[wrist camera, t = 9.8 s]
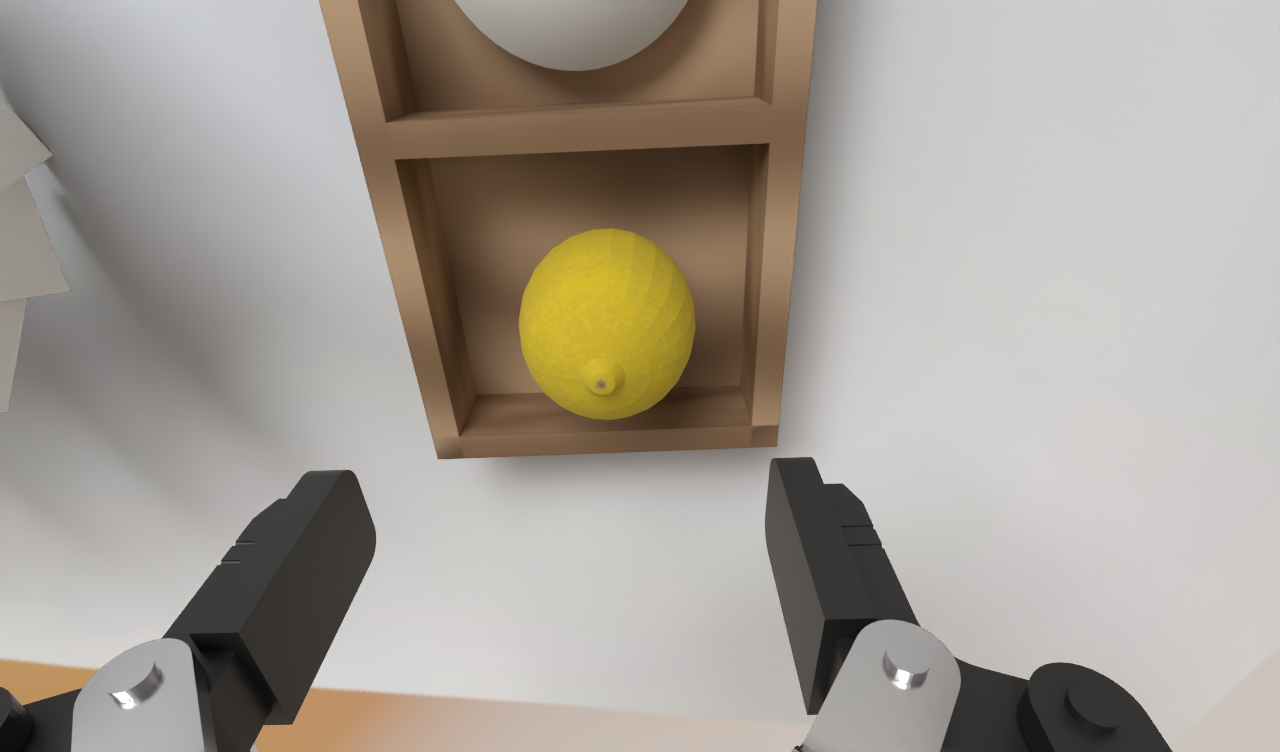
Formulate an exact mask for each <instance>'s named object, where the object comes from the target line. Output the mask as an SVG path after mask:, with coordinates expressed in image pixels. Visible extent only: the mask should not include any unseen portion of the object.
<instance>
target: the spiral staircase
mask: <svg viewBox="0 0 1280 752" xmlns="http://www.w3.org/2000/svg"><path fill="white" fill-rule="evenodd" d="M51 156H52V153H51V152H50V151H49V150H48V149H47V148H46V147H45V146H44V145H43V143H42V142H41V141H40V140H39V139H38V138H37V137H36V136H35V135H34V134H33V132H32V131H31V130H30V129H29V128H28V127H27V126H26V125H25V124H24V123H23V121H22V120H21V119H20V118H19V117H18V116H17V115H16V114H15V113H14V112H13V111H12V109H11V108H10V107H9V106H8V105H7V104H6V103H5V102H4V101H3V100H2V98H1V97H0V413H3V412H8V409H9V403H10V397H11V391H12V386H13V380H14V374H15V368H16V362H17V357H18V351H19V345H20V339H21V333H22V328H23V322H24V316H25V310H26V305H27V299H28V298H30V297H37V296H43V295H50V294H57V293H63V292H69V291H70V288H69V286H68V283H67V281H66V278H65V276H64V274H63V271H62V269H61V266H60V264H59V261H58V259H57V256H56V254H55V251H54V249H53V246H52V244H51V242H50V239H49V237H48V234H47V232H46V229H45V227H44V224H43V222H42V219H41V217H40V214H39V212H38V210H37V207H36V205H35V202H34V200H33V197H32V195H31V192H30V190H29V187H28V185H27V182H26V180H25V178H24V175H25V174H26V173H28V172H29V171H31V170H32V169H34V168H35V167H36V166H38V165H39V164H41V163H42V162H44V161H45V160H47V159H48V158H50V157H51Z"/></svg>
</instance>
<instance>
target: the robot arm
mask: <svg viewBox="0 0 1280 752" xmlns="http://www.w3.org/2000/svg"><path fill="white" fill-rule="evenodd" d="M765 534H766V543H767V549H768V554H769V558H770V562H771V566H772V570H773V574H774V579H775V583H776V587H777V591H778V595H779V599H780V604H781V608H782V612H783V616H784V620H785V624H786V628H787V633H788V637H789V641H790V645H791V649H792V653H793V657H794V662H795V666H796V670H797V674H798V678H799V682H800V686H801V691H802V695H803V699H804V703H805V707H806V711H807V715H817V717H816V719H815V721H814V723H813V725H812V727H811V729H810V731H809V733H808V735H807V737H806V739H805V740H804V742H803V744H802V745H801V746H800V747H799V746H796V747H795V748H794V749H793V750H792V752H1172V750H1171V749H1170V747H1169V746H1168V744H1167V743H1166V741H1165V740H1164V738H1163V737H1162V735H1161V734H1160V732H1159V731H1158V729H1157V728H1156V726H1155V725H1154V723H1153V722H1152V720H1151V719H1150V717H1149V716H1148V714H1147V713H1146V712H1145V710H1144V709H1143V708H1142V706H1141V705H1140V704H1139V703H1138V702H1137V701H1136V700H1135V699H1134V697H1133V696H1132V695H1130V694H1129V693H1128V692H1127V691H1126V690H1125V689H1124V688H1122V687H1121V686H1120V685H1118V684H1117V683H1115V682H1114V681H1113V680H1111V679H1109V678H1107V677H1106V676H1104V675H1102V674H1100V673H1098V672H1096V671H1094V670H1092V669H1089V668H1086V667H1083V666H1080V665H1076V664H1071V663H1062V662H1060V663H1050V664H1046V665H1043V666H1041V667H1039V668H1038V669H1037V670H1036V671H1035V672H1034V673H1033V674H1032V676H1031V678H1030V680H1025V679H1022V678H1018V677H1014V676H1010V675H1006V674H1003V673H999V672H995V671H991V670H988V669H984V668H980V667H977V666H974V665H971V664H968V663H966V662H964V661H961V660H959V659H957V658H956V657H954V656H953V655H952V653H951V652H950V650H949V649H948V648H947V647H946V646H945V645H944V644H943V643H942V642H941V641H940V640H939V639H938V638H937V637H935V636H934V635H933V634H931V633H930V632H928V631H927V630H925V629H923V628H921V626H920V625H919V623H918V621H917V619H916V617H915V615H914V613H913V611H912V609H911V607H910V604H909V602H908V600H907V598H906V596H905V593H904V591H903V589H902V587H901V585H900V583H899V580H898V578H897V576H896V574H895V572H894V570H893V567H892V565H891V563H890V561H889V559H888V556H887V554H886V552H885V550H884V548H883V549H882V543H881V541H880V539H879V537H878V535H877V533H876V530H874V529H873V524H872V522H871V519H870V517H869V515H868V513H867V511H866V509H865V506H864V504H863V502H862V501H861V500H859V499H858V498H857V497H856V496H855V495H854V494H853V493H852V492H851V491H850V490H849V489H848V488H847V487H846V486H845V485H844V484H824V483H823V481H822V478H821V476H820V473H819V471H818V468H817V465H816V463H815V461H814V459H813V458H812V457H799V458H773V459H772V460H771V464H770V471H769V482H768V493H767V503H766V514H765ZM375 547H376V531H375V527H374V524H373V521H372V518H371V515H370V513H369V510H368V507H367V504H366V502H365V499H364V496H363V493H362V490H361V488H360V485H359V482H358V479H357V477H356V475H355V474H354V473H353V472H352V471H351V470H330V471H309V472H307V473H305V474H304V475H303V476H302V478H301V479H300V480H299V482H298V483H297V484H296V486H295V487H294V489H293V490H292V491H291V493H290V494H289V495H288V497H287V498H286V499H278V500H277V501H275V502H274V503H273V504H272V505H270V506H269V507H268V508H266V509H265V510H264V511H263V512H261V513H260V514H259V515H257V516H256V517H255V518H253V519H252V521H251V522H250V523H249V525H248V526H247V527H246V529H245V530H244V531H243V533H242V534H241V535H240V536H239V538H238V539H237V540H236V545H235V546H232V547H231V548H230V550H229V551H228V552H227V554H226V555H225V556H224V557H223V559H222V560H221V561H222V563H221V565H217V567H216V568H215V569H214V571H213V572H212V573H211V575H210V576H209V577H208V578H207V580H206V581H205V582H204V584H203V585H202V586H201V588H200V589H199V590H198V592H197V593H196V594H195V595H194V597H193V598H192V599H191V601H190V602H189V603H188V605H187V606H186V607H185V609H184V610H183V611H182V613H181V614H180V615H179V616H178V618H177V619H176V620H175V622H174V623H173V624H172V626H171V627H170V628H169V630H168V631H167V632H166V634H165V635H164V636H163V637H162V638H161V639H157V640H152V641H149V642H146V643H143V644H140V645H138V646H135V647H133V648H131V649H129V650H127V651H125V652H123V653H122V654H120V655H119V656H117V657H115V658H114V659H112V660H111V661H110V662H108V663H107V664H106V665H104V666H103V667H102V668H101V669H100V670H99V671H97V672H96V673H95V674H94V675H93V676H92V678H91V679H90V680H89V681H88V682H87V683H86V685H85V686H84V687H83V688H81V689H77V690H74V691H71V692H67V693H64V694H60V695H57V696H54V697H50V698H47V699H43V700H40V701H36V702H33V703H30V704H26V705H23V706H22V705H21V704H20V703H19V702H18V701H17V700H16V699H15V697H14V696H13V695H12V694H11V693H10V692H9V691H8V690H6V689H4V688H2V687H0V752H258V750H257V748H256V747H255V745H254V742H255V740H256V738H257V736H258V734H259V732H260V730H261V728H262V727H263V725H285V724H286V725H287V724H288V725H289V724H293V722H294V720H295V718H296V715H297V713H298V711H299V709H300V707H301V705H302V703H303V701H304V699H305V697H306V695H307V693H308V691H309V689H310V687H311V685H312V683H313V681H314V679H315V677H316V674H317V672H318V670H319V668H320V666H321V664H322V662H323V660H324V658H325V656H326V654H327V652H328V650H329V648H330V646H331V644H332V642H333V640H334V637H335V635H336V633H337V631H338V629H339V627H340V625H341V623H342V621H343V619H344V617H345V615H346V613H347V611H348V609H349V607H350V605H351V603H352V601H353V598H354V596H355V594H356V592H357V590H358V588H359V586H360V584H361V582H362V580H363V578H364V576H365V574H366V572H367V570H368V568H369V566H370V564H371V561H372V559H373V556H374V552H375Z"/></svg>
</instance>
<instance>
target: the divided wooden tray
mask: <svg viewBox="0 0 1280 752" xmlns="http://www.w3.org/2000/svg"><path fill="white" fill-rule="evenodd" d="M319 3H320V7H321V10H322V14H323V18H324V22H325V26H326V30H327V33H328V37H329V41H330V45H331V49H332V53H333V57H334V60H335V64H336V68H337V72H338V76H339V80H340V84H341V87H342V91H343V95H344V99H345V103H346V107H347V111H348V114H349V118H350V122H351V126H352V130H353V134H354V138H355V141H356V145H357V149H358V153H359V157H360V161H361V164H362V168H363V172H364V176H365V180H366V184H367V188H368V191H369V195H370V199H371V203H372V207H373V211H374V215H375V218H376V222H377V226H378V230H379V234H380V238H381V242H382V245H383V249H384V253H385V257H386V261H387V265H388V269H389V272H390V276H391V280H392V284H393V288H394V292H395V296H396V299H397V303H398V307H399V311H400V315H401V319H402V322H403V326H404V330H405V334H406V338H407V342H408V346H409V349H410V353H411V357H412V361H413V365H414V369H415V373H416V376H417V380H418V384H419V388H420V392H421V396H422V400H423V403H424V407H425V411H426V415H427V419H428V423H429V427H430V430H431V434H432V438H433V442H434V446H435V450H436V453H437V457H438V459H459V458H485V457H512V456H538V455H565V454H592V453H618V452H645V451H671V450H698V449H724V448H751V447H777V438H778V427H779V416H780V405H781V394H782V383H783V372H784V361H785V350H786V339H787V328H788V317H789V306H790V295H791V284H792V273H793V262H794V251H795V240H796V228H797V217H798V206H799V195H800V184H801V173H802V162H803V151H804V140H805V129H806V118H807V107H808V96H809V85H810V74H811V63H812V52H813V41H814V30H815V19H816V8H817V0H688V1H687V3H686V5H685V6H684V8H683V9H682V10H681V12H680V13H679V15H678V16H677V17H676V19H675V20H674V22H673V23H672V24H671V25H670V26H669V27H668V28H667V29H666V30H665V31H664V32H663V33H662V34H661V36H659V37H658V38H657V39H656V40H655V41H653V42H652V43H651V44H650V45H649V46H647V47H646V48H645V49H643V50H641V51H640V52H638V53H636V54H635V55H633V56H632V57H630V58H628V59H625V60H623V61H621V62H618V63H616V64H614V65H610V66H606V67H603V68H599V69H593V70H584V71H563V70H557V69H551V68H546V67H542V66H539V65H536V64H533V63H530V62H527V61H525V60H523V59H521V58H519V57H517V56H515V55H513V54H511V53H509V52H508V51H506V50H505V49H503V48H502V47H500V46H499V45H497V44H496V43H494V42H493V41H492V40H491V39H490V38H488V37H487V36H486V35H485V34H484V33H482V32H481V31H480V30H479V29H478V28H477V27H476V26H475V25H474V24H473V22H472V21H471V20H470V19H469V18H468V17H467V16H466V15H465V14H464V12H463V11H462V10H461V8H460V7H459V6H458V4H457V3H456V2H455V0H319ZM610 228H614V229H619V230H625V231H630V232H634V233H636V234H638V235H640V236H642V237H645V238H647V239H649V240H651V241H653V242H654V243H655V244H657V245H658V246H659V247H660V248H662V249H663V250H664V251H665V252H667V253H668V254H669V255H670V256H671V258H672V259H673V260H674V262H675V263H676V265H677V266H678V267H679V269H680V270H681V271H682V273H683V274H684V276H685V279H686V282H687V284H688V287H689V289H690V292H691V295H692V298H693V304H694V314H695V325H696V326H695V334H694V339H693V345H692V350H691V354H690V357H689V360H688V362H687V364H686V366H685V368H684V370H683V372H682V374H681V376H680V378H679V380H678V382H677V383H676V384H675V385H674V386H673V388H672V389H671V390H670V391H669V392H668V393H667V394H666V396H665V397H664V398H663V399H662V400H660V401H659V402H657V403H656V404H655V405H653V406H652V407H650V408H649V409H647V410H645V411H642V412H640V413H637V414H635V415H632V416H630V417H625V418H619V419H613V420H605V419H592V418H588V417H584V416H581V415H577V414H575V413H573V412H571V411H569V410H567V409H565V408H563V407H561V406H559V405H558V404H557V403H556V402H554V401H553V400H552V399H551V398H550V397H548V396H547V395H546V394H545V393H544V392H543V391H542V389H541V388H540V387H539V385H538V384H537V383H536V381H535V380H534V378H533V377H532V375H531V373H530V371H529V368H528V366H527V363H526V361H525V358H524V356H523V353H522V348H521V340H520V331H519V315H520V310H521V304H522V298H523V294H524V291H525V289H526V287H527V284H528V282H529V280H530V278H531V276H532V274H533V272H534V270H535V268H536V267H537V266H538V265H539V263H540V262H541V261H542V260H543V259H544V258H545V257H546V255H547V254H548V253H549V252H550V251H551V250H552V249H553V248H554V247H556V246H558V245H559V244H561V243H562V242H564V241H565V240H567V239H568V238H570V237H572V236H575V235H578V234H581V233H584V232H587V231H590V230H595V229H610Z"/></svg>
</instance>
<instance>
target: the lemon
mask: <svg viewBox="0 0 1280 752" xmlns="http://www.w3.org/2000/svg"><path fill="white" fill-rule="evenodd" d="M695 326H696V325H695V314H694V304H693V298H692V295H691V292H690V289H689V287H688V284H687V282H686V279H685V276H684V274H683V273H682V271H681V270H680V269H679V267H678V266H677V265H676V263H675V262H674V260H673V259H672V258H671V256H670V255H669V254H668V253H667V252H665V251H664V250H663V249H662V248H660V247H659V246H658V245H657V244H655V243H654V242H653V241H651V240H649V239H647V238H645V237H642V236H640V235H638V234H636V233H634V232H630V231H625V230H619V229H614V228H610V229H595V230H590V231H587V232H584V233H581V234H578V235H575V236H572V237H570V238H568V239H567V240H565V241H564V242H562V243H561V244H559V245H558V246H556V247H554V248H553V249H552V250H551V251H550V252H549V253H548V254H547V255H546V257H545V258H544V259H543V260H542V261H541V262H540V263H539V265H538V266H537V267H536V268H535V270H534V272H533V274H532V276H531V278H530V280H529V282H528V284H527V287H526V289H525V291H524V294H523V298H522V304H521V310H520V315H519V331H520V340H521V348H522V353H523V356H524V358H525V361H526V363H527V366H528V368H529V371H530V373H531V375H532V377H533V378H534V380H535V381H536V383H537V384H538V385H539V387H540V388H541V389H542V391H543V392H544V393H545V394H546V395H547V396H548V397H550V398H551V399H552V400H553V401H554V402H556V403H557V404H558V405H559V406H561V407H563V408H565V409H567V410H569V411H571V412H573V413H575V414H577V415H581V416H584V417H588V418H592V419H605V420H613V419H619V418H625V417H630V416H632V415H635V414H637V413H640V412H642V411H645V410H647V409H649V408H650V407H652V406H653V405H655V404H656V403H657V402H659V401H660V400H662V399H663V398H664V397H665V396H666V394H667V393H668V392H669V391H670V390H671V389H672V388H673V386H674V385H675V384H676V383H677V382H678V380H679V378H680V376H681V374H682V372H683V370H684V368H685V366H686V364H687V362H688V360H689V357H690V354H691V350H692V345H693V339H694V334H695Z"/></svg>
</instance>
